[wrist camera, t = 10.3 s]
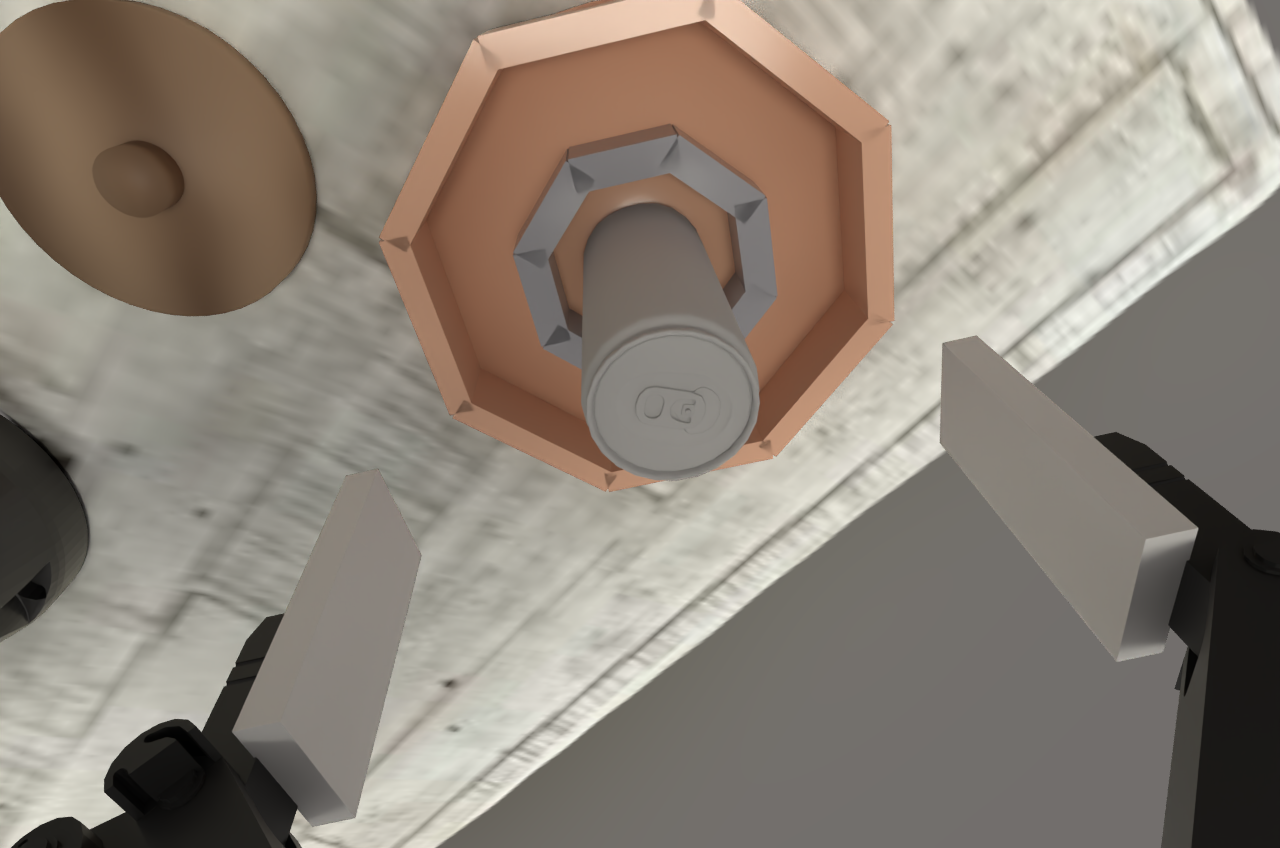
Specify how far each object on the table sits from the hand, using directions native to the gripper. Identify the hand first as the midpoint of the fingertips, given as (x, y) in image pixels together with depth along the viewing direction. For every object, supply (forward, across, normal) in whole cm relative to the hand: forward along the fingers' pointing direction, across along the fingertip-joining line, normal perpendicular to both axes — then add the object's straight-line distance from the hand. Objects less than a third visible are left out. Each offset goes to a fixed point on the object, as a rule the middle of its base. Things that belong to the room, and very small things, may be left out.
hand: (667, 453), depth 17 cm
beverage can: (+14, +1, 0) cm, 14 cm away
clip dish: (+15, +1, 0) cm, 15 cm away
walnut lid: (+16, -16, +7) cm, 24 cm away
